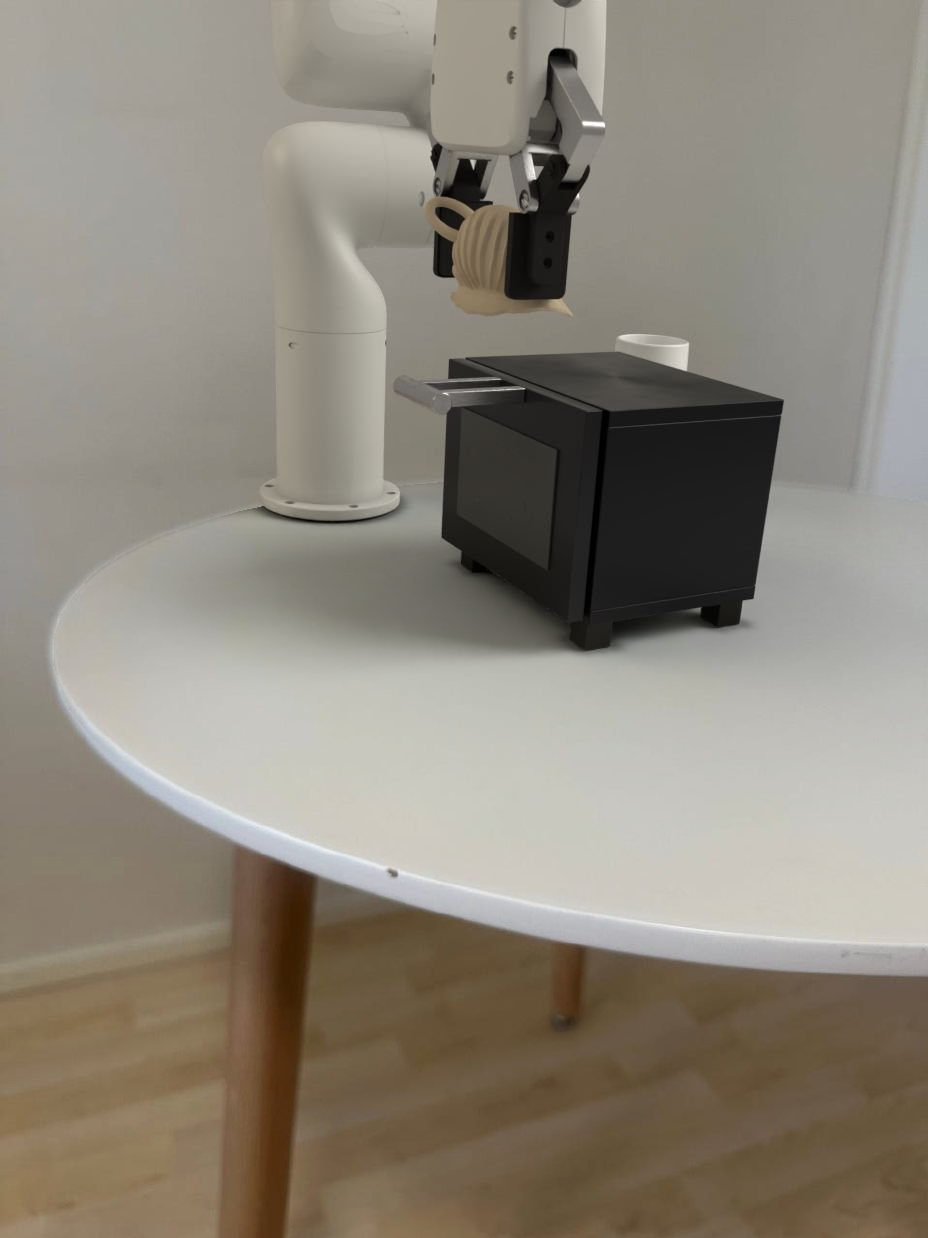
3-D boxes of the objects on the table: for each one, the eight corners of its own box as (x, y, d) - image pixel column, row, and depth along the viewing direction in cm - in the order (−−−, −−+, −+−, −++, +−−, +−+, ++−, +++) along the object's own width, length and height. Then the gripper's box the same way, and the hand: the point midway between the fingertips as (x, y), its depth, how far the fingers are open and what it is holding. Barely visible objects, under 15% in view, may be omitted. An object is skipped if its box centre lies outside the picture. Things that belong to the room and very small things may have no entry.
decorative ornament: (519, 324, 56) (527, 209, 54) (410, 301, 62) (414, 195, 60) (575, 319, 59) (585, 209, 57) (465, 297, 65) (471, 196, 63)
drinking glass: (669, 512, 107) (689, 347, 101) (596, 504, 108) (612, 341, 102) (672, 493, 113) (691, 337, 107) (603, 486, 114) (618, 331, 108)
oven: (586, 654, 75) (610, 410, 69) (455, 562, 91) (464, 357, 85) (749, 625, 81) (784, 399, 75) (600, 544, 97) (619, 351, 91)
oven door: (468, 639, 71) (480, 414, 66) (354, 547, 86) (356, 359, 81) (583, 620, 74) (603, 406, 69) (454, 536, 89) (463, 355, 84)
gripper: (700, -124, 48) (650, 312, 55) (502, -75, 62) (482, 266, 69) (544, -152, 45) (512, 314, 52) (373, -94, 59) (366, 266, 66)
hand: (495, 284), depth 60 cm, fingers closed on decorative ornament, 7 cm apart
